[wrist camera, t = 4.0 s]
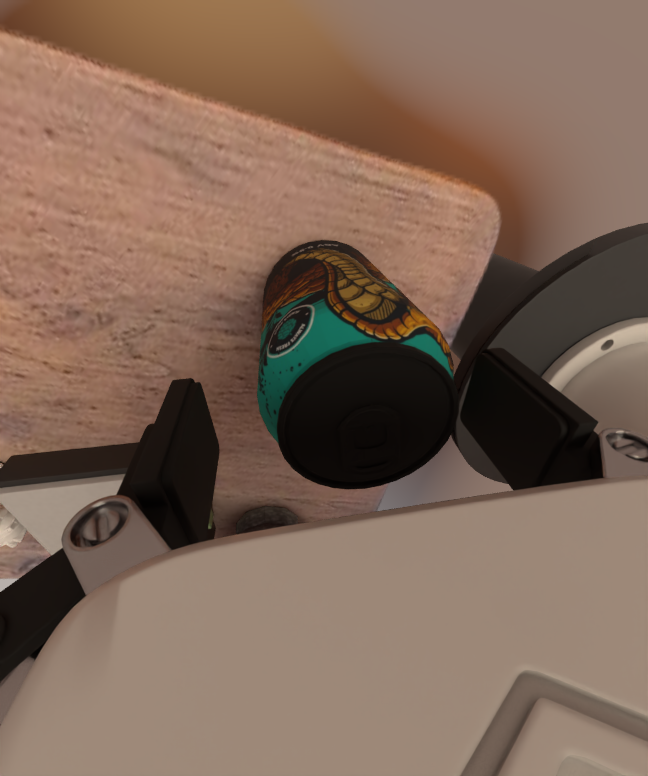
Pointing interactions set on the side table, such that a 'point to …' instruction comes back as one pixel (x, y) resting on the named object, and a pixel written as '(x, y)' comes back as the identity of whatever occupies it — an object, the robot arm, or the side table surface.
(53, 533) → the scale
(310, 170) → the side table surface
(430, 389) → the beverage can
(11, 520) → the game pieces
